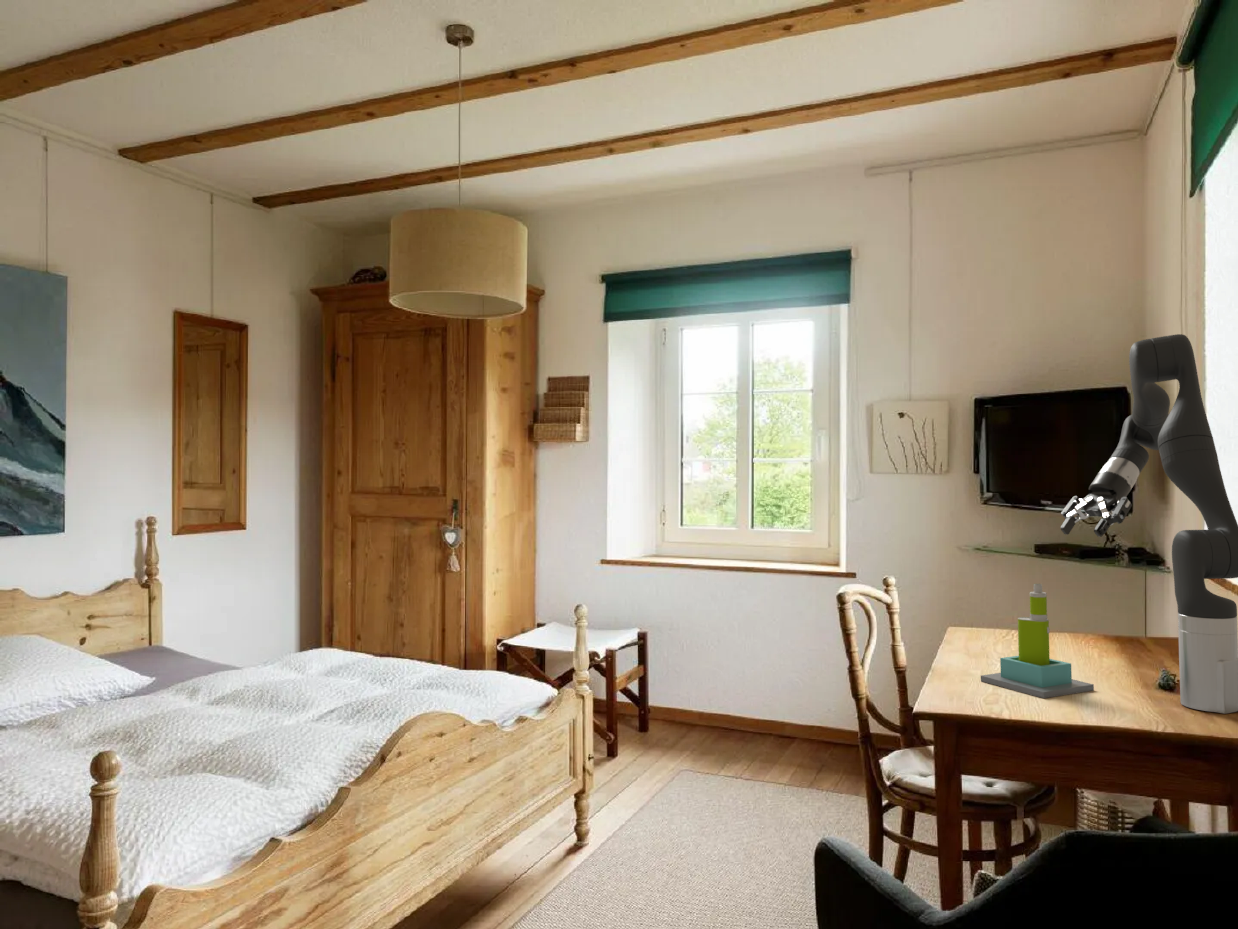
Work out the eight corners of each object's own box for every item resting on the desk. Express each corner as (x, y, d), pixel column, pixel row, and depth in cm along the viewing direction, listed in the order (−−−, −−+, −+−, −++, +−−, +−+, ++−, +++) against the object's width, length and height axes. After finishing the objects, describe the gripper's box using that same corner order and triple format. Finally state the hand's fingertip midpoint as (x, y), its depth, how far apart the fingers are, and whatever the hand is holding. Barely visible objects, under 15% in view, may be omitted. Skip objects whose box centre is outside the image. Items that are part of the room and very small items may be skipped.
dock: (1093, 690, 174) (1093, 664, 174) (1043, 698, 168) (1042, 672, 169) (1028, 674, 189) (1028, 650, 189) (980, 681, 183) (980, 657, 183)
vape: (1048, 683, 176) (1046, 585, 176) (1017, 679, 179) (1015, 583, 180) (1052, 679, 179) (1050, 583, 179) (1021, 675, 182) (1019, 582, 183)
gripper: (1078, 470, 203) (1044, 520, 198) (1135, 469, 190) (1100, 523, 185) (1095, 492, 205) (1061, 542, 200) (1152, 493, 192) (1117, 546, 187)
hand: (1080, 533), depth 193 cm, fingers open, 8 cm apart
